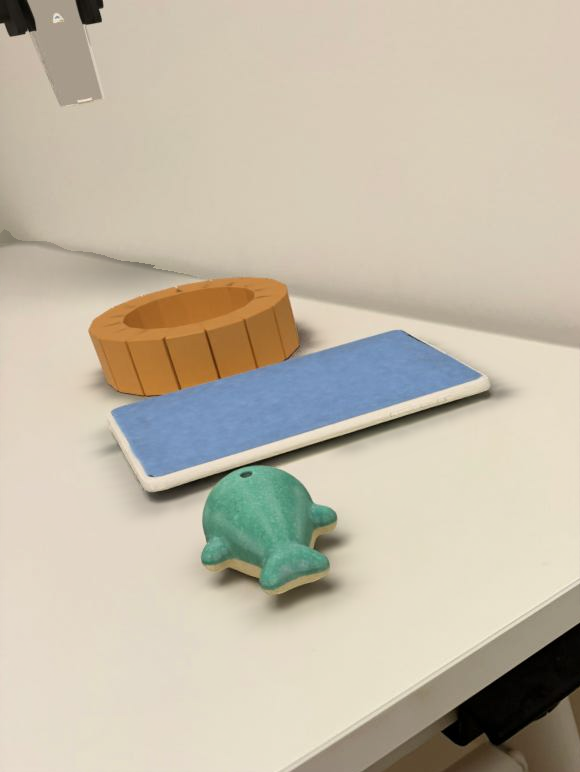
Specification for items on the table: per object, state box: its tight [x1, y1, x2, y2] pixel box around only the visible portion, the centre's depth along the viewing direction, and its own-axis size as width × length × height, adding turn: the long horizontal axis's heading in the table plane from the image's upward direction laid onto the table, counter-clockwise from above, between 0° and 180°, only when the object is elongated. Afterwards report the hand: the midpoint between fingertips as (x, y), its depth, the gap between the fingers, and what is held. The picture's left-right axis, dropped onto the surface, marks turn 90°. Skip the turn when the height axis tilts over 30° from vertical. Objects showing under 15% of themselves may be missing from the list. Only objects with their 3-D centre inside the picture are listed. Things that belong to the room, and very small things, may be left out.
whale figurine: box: [200, 465, 338, 595], centre depth 37 cm, size 6×7×4 cm
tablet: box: [106, 329, 492, 493], centre depth 52 cm, size 19×13×1 cm, turn 118°
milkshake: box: [18, 0, 106, 108], centre depth 65 cm, size 4×5×10 cm
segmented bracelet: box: [87, 276, 301, 397], centre depth 62 cm, size 13×13×4 cm
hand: (54, 26), depth 65 cm, fingers closed on milkshake, 4 cm apart
